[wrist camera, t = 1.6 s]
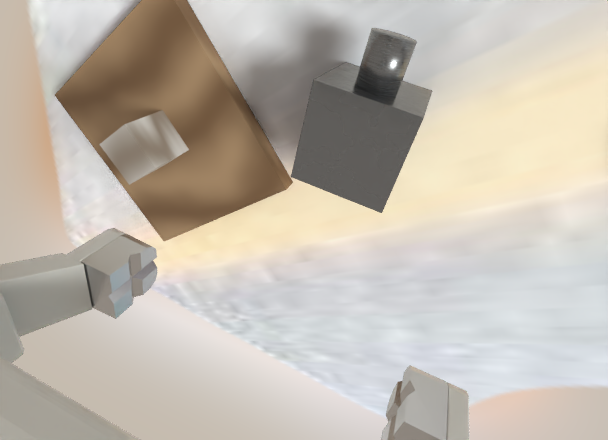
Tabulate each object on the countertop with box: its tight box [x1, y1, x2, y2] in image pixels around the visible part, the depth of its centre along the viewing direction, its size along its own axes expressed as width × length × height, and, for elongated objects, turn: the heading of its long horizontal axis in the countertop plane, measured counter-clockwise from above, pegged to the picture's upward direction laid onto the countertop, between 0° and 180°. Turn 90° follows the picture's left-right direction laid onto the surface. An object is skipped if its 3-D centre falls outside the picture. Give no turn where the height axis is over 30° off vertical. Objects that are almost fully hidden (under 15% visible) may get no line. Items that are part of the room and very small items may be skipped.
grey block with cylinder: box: [291, 28, 432, 213], centre depth 23 cm, size 6×9×7 cm
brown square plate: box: [55, 0, 293, 241], centre depth 32 cm, size 18×18×6 cm
